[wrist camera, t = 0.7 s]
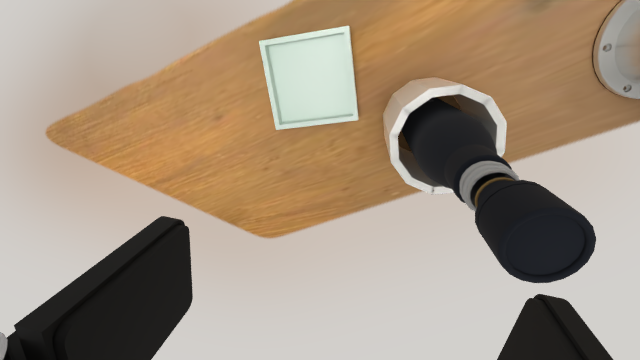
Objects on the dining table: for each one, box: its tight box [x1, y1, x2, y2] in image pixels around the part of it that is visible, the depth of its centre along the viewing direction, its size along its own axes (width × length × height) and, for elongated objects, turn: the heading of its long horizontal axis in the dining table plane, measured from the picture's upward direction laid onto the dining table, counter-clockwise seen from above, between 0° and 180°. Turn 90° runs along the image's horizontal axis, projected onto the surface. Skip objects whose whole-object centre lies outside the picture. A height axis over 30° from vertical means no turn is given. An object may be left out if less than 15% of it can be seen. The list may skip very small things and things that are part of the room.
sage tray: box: [259, 26, 359, 130], centre depth 40 cm, size 11×11×2 cm
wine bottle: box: [401, 97, 596, 283], centre depth 27 cm, size 6×6×30 cm
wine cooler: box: [383, 77, 507, 194], centre depth 36 cm, size 11×11×12 cm
